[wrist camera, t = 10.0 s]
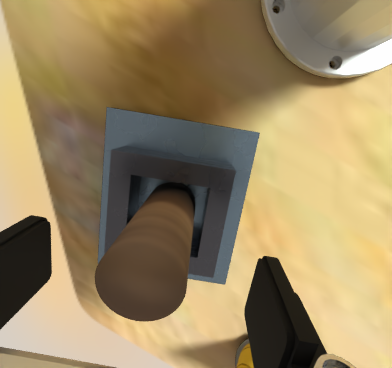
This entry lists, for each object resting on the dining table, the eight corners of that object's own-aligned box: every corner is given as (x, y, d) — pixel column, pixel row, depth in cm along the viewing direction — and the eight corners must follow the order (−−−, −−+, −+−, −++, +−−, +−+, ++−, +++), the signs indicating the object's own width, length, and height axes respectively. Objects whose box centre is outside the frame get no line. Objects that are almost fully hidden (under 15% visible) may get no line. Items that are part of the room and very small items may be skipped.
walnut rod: (151, 178, 19) (97, 234, 9) (199, 186, 19) (193, 251, 9) (146, 222, 20) (92, 313, 10) (191, 229, 20) (179, 327, 11)
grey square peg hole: (110, 107, 19) (87, 103, 15) (257, 132, 19) (270, 134, 15) (101, 258, 22) (80, 285, 19) (224, 278, 22) (228, 309, 19)
